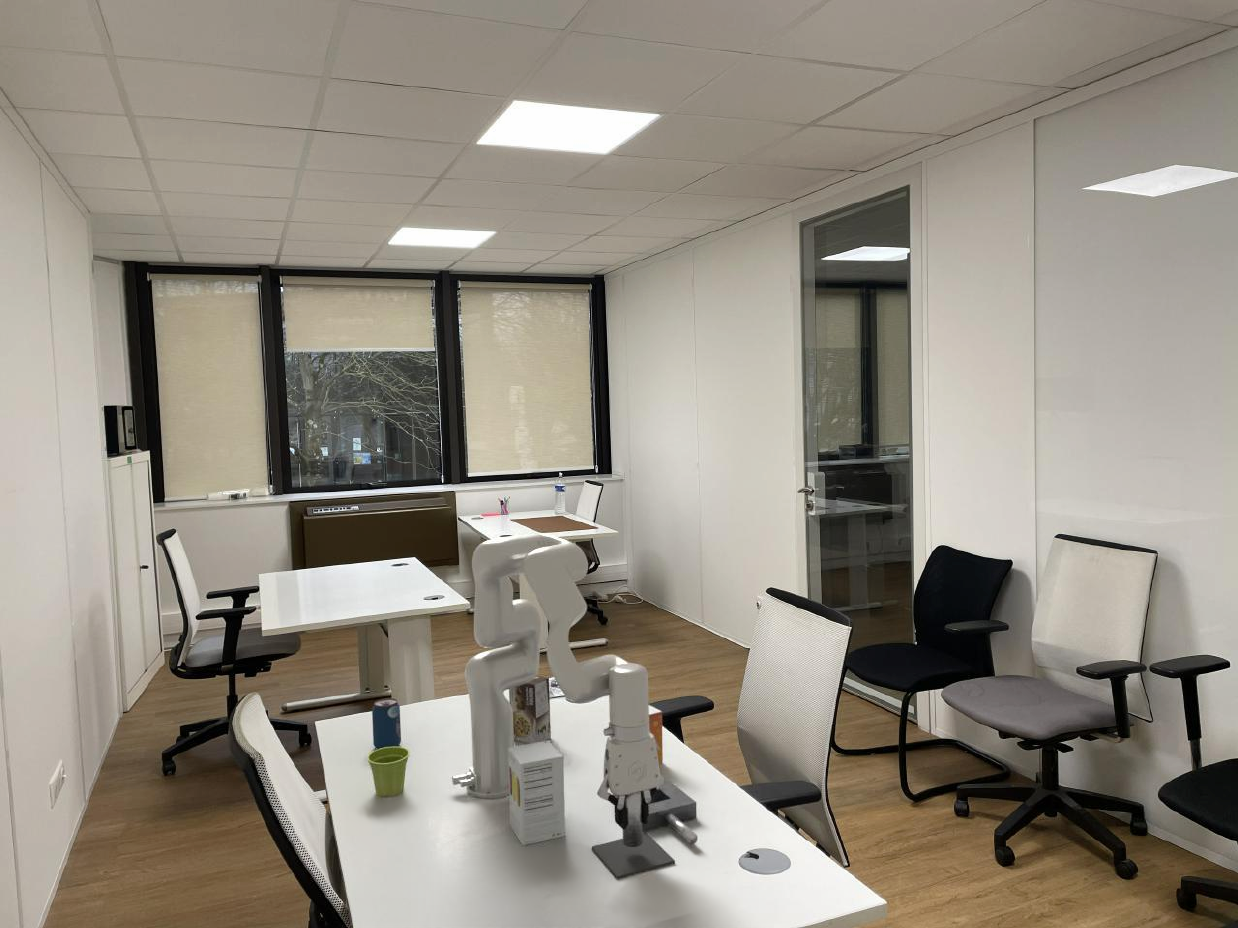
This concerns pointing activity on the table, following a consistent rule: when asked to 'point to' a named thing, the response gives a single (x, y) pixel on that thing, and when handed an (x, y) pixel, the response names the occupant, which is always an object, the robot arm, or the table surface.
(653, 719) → the small box
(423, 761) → the table surface
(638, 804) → the gold capped metal cylinder
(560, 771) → the supplement box
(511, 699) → the coffee box
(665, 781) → the block
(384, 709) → the soda can
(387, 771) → the plant pot
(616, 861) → the pad
